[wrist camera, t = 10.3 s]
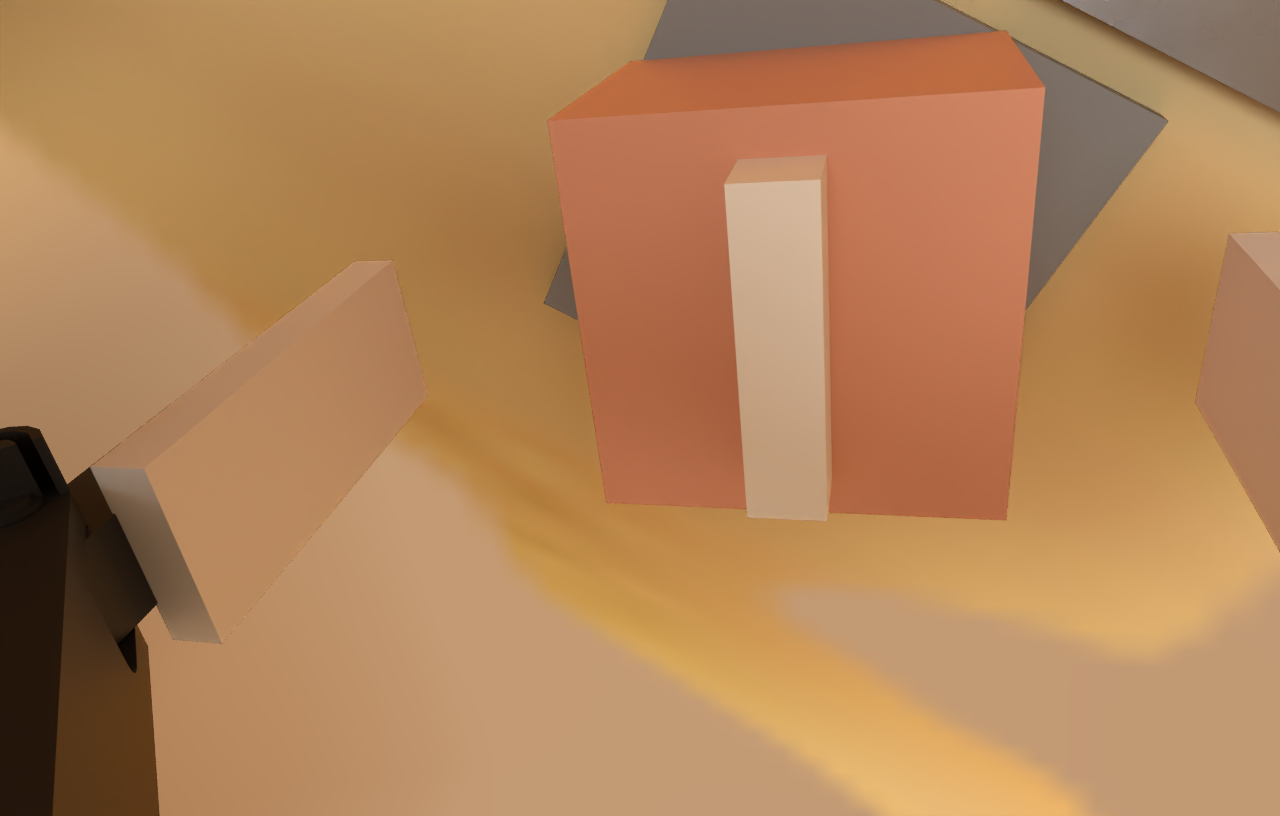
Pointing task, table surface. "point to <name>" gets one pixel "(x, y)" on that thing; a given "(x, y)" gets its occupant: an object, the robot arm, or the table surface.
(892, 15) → the mat
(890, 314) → the orange block
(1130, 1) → the grey peg stand
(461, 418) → the table surface
